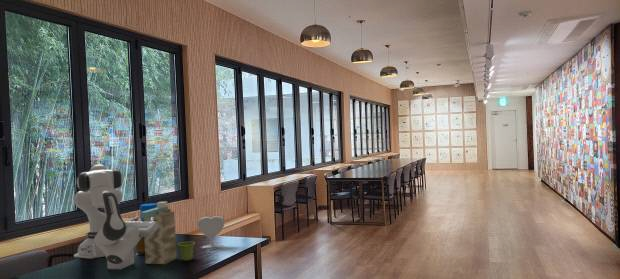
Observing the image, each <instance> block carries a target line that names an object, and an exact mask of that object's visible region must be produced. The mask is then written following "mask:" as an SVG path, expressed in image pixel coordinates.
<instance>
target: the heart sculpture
mask: <svg viewBox="0 0 620 279" xmlns="http://www.w3.org/2000/svg"><path fill="white" fill-rule="evenodd" d="M224 219H225V218H224V217H222V216H219V215H215V216H212V217H210V216H203V217H201V218H199V219H198V221H197V228H198V230H199V231H200V232H201V233H202V234H203V235H204V236H205V237H208V238H210V244H207V245H202V246H203V247H202V246H201V247H202V248H201V249H209V248H221V247H224V245H223V244H214V240H215V239H214V238H215V237H216V236H218V235H219V234H220V233H221V232H222V230H223V229H224V227H225V220H224Z"/></svg>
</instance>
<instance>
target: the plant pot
mask: <svg viewBox="0 0 620 279" xmlns="http://www.w3.org/2000/svg"><path fill="white" fill-rule="evenodd" d="M195 244H196V242H195V241H182V242H178V243H176V246H178V250H179V254H180V260H181V261H190V260H192V259H193V258H194V250H195V249H194V248H195Z"/></svg>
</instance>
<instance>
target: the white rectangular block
mask: <svg viewBox="0 0 620 279" xmlns="http://www.w3.org/2000/svg"><path fill="white" fill-rule="evenodd" d="M134 255H135V254H134V249H133V250H132V252H131V254H130V255H129V256H128V257H127V259H126V260H125V261H124V262H122V263H120V264H113V263H110V262H109V261H108V260H107V259H106V264H107V265H106V266H107V270H122V269H125V268H127V267H130V266H131V265H134V264H135V256H134Z"/></svg>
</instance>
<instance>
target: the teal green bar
mask: <svg viewBox="0 0 620 279" xmlns="http://www.w3.org/2000/svg"><path fill="white" fill-rule="evenodd" d="M156 203H157V208H154V209H150V210H147V211H143V212H140V211H139V218H140V219H141V218H149V217H152V216H155V215H158V212H160V211H164V210H167V209H169V204H168V201H159V202H156Z"/></svg>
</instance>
